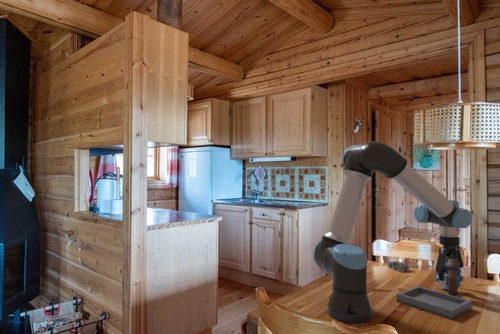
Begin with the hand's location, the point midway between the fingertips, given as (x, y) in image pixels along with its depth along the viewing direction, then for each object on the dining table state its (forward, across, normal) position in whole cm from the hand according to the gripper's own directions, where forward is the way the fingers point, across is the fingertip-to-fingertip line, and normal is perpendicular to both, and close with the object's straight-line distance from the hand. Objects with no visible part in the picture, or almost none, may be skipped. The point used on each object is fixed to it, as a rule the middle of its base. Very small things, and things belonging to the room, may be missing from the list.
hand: (450, 285), depth 141 cm
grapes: (+2, 0, 0) cm, 2 cm away
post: (+2, -9, -5) cm, 11 cm away
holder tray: (+2, -23, -4) cm, 23 cm away
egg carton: (+3, +13, +31) cm, 34 cm away
